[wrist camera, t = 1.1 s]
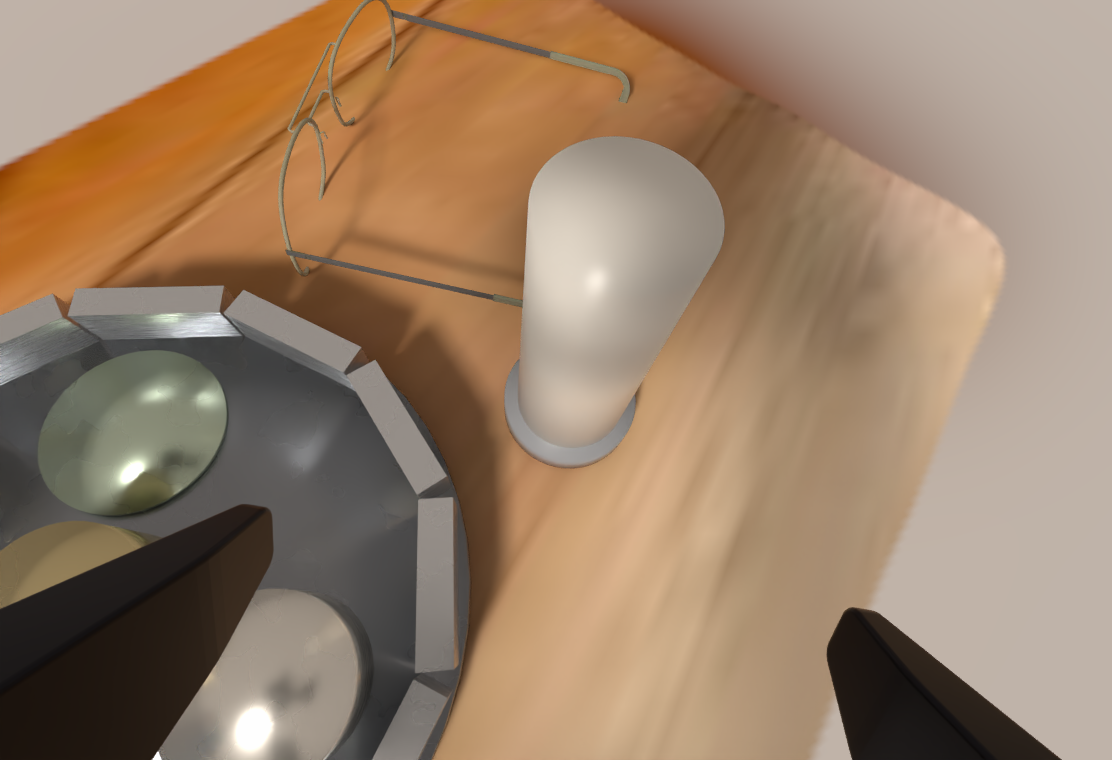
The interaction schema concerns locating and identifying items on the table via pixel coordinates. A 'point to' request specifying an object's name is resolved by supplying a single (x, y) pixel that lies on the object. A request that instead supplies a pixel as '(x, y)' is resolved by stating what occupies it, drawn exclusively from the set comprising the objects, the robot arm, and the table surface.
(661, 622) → the table surface
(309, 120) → the eyeglasses
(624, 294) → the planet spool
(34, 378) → the carrier plate
